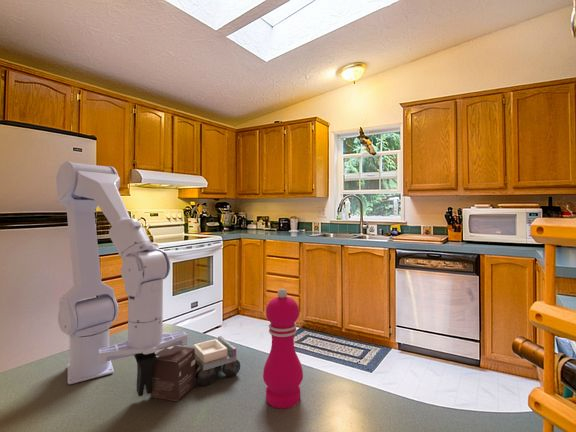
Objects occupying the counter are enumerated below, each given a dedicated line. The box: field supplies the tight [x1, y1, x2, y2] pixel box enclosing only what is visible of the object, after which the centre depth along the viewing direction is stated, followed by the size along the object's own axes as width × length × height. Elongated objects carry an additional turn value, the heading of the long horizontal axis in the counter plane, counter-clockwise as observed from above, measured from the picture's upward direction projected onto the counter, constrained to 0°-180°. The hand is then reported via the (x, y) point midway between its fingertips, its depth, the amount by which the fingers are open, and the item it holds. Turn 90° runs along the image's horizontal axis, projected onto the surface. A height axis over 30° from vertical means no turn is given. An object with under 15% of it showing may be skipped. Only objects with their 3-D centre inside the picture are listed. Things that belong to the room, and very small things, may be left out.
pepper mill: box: [262, 288, 304, 409], centre depth 58 cm, size 7×7×20 cm
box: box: [149, 345, 197, 402], centre depth 60 cm, size 6×6×7 cm
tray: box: [193, 338, 227, 363], centre depth 66 cm, size 6×5×2 cm
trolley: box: [195, 335, 241, 387], centre depth 67 cm, size 8×9×6 cm
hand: (145, 391), depth 58 cm, fingers closed, pressing on box
